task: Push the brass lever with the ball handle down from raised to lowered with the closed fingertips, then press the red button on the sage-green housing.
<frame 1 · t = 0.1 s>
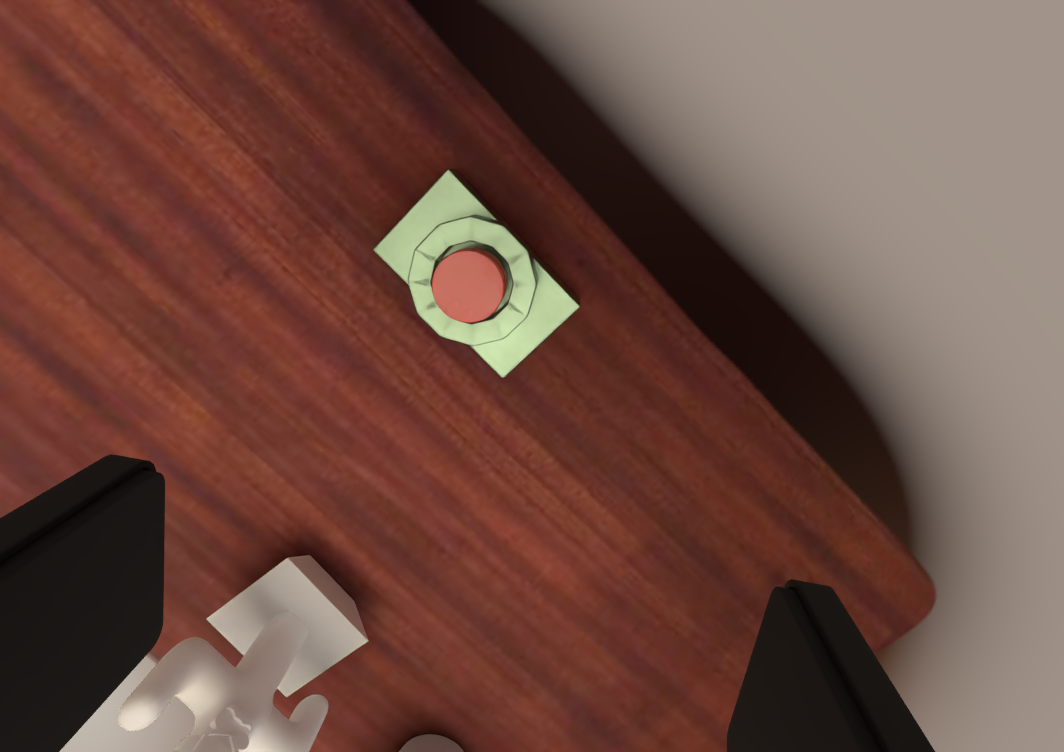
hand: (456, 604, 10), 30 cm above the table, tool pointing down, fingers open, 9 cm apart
button: (470, 284, 34), point 4 cm above the table, slide at 0.1 cm
figurine: (310, 593, 46), on the table
button box: (481, 272, 39), on the table
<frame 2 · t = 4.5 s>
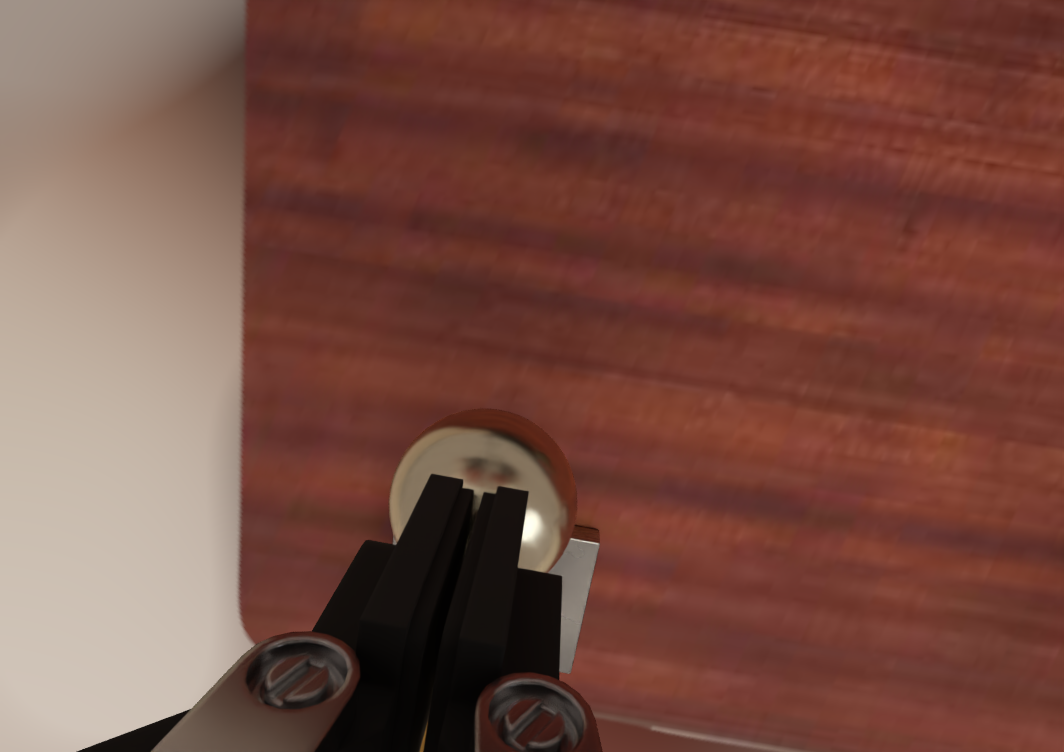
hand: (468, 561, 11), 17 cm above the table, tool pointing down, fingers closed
lever: (461, 668, 17), point 13 cm above the table, hinge at 20.9°
bracket: (489, 577, 32), on the table
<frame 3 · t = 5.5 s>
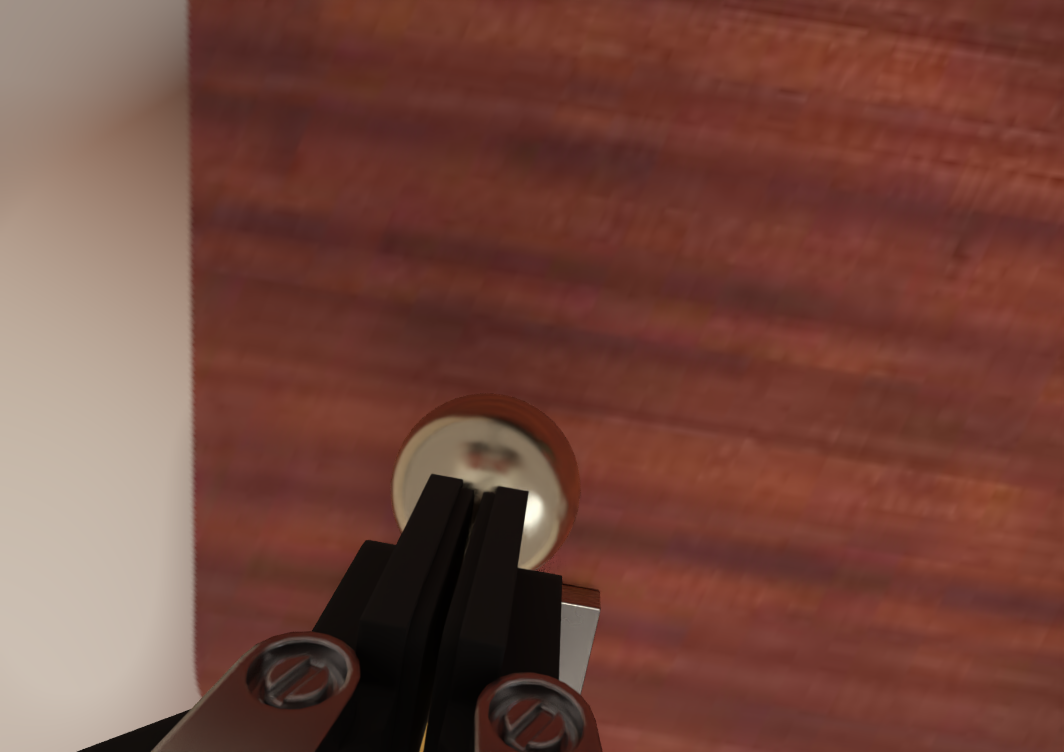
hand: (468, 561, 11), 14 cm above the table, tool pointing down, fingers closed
lever: (446, 731, 15), point 11 cm above the table, hinge at 3.0°, touching gripper
bracket: (476, 642, 28), on the table
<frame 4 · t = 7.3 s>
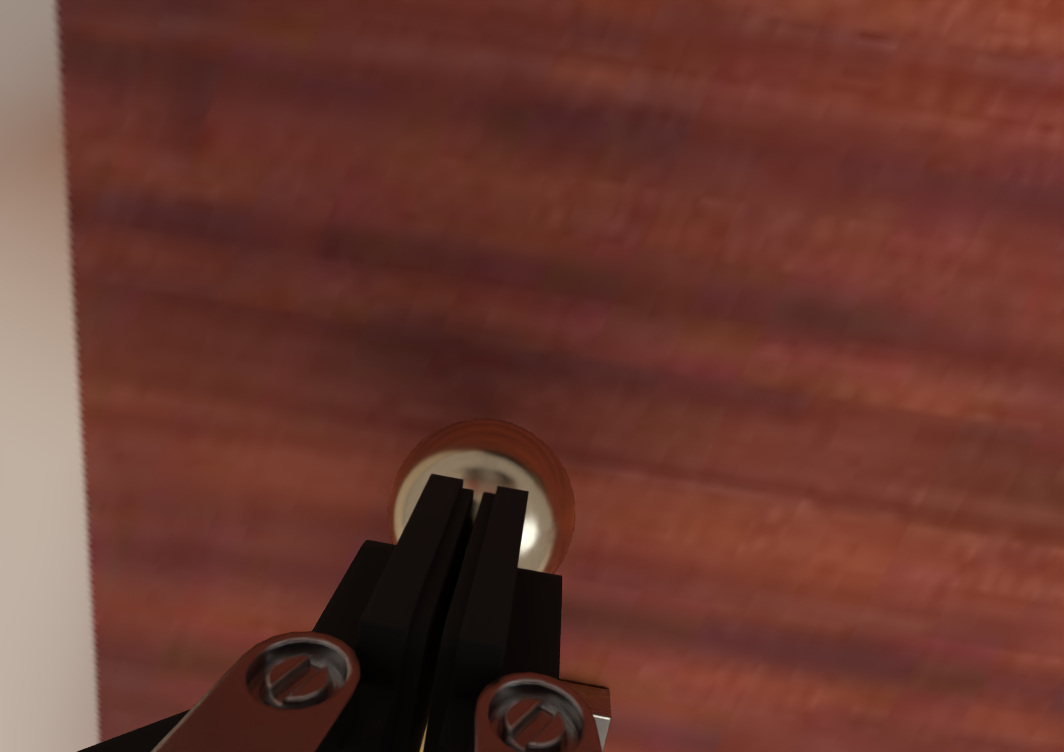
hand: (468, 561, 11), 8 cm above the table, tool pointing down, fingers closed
bracket: (452, 750, 22), on the table
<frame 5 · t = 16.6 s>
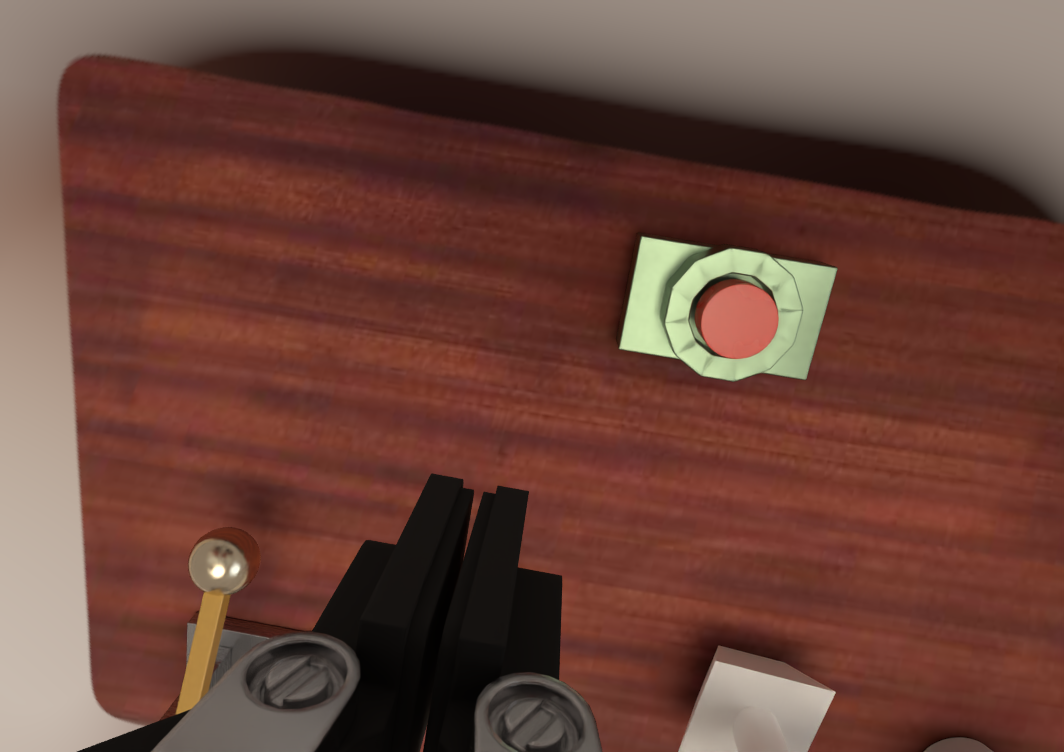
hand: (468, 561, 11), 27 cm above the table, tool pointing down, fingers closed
button: (735, 318, 33), point 4 cm above the table, slide at 0.1 cm
figurine: (739, 678, 44), on the table
lever: (197, 680, 36), point 8 cm above the table, hinge at -23.7°
bracket: (260, 667, 46), on the table
button box: (716, 302, 37), on the table
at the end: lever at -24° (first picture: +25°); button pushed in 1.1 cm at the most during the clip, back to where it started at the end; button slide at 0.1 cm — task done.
